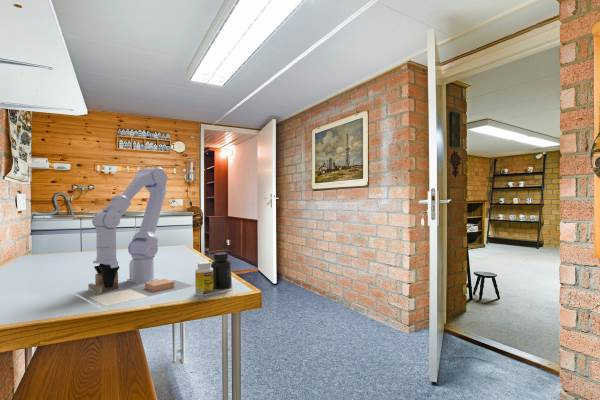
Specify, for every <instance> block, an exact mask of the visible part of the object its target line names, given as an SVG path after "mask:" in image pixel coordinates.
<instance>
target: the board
mask: <svg viewBox="0 0 600 400" xmlns="http://www.w3.org/2000/svg"><path fill="white" fill-rule="evenodd" d="M171 281H174V288H170V289H165V290H161V291H156V292H153V291H150V290H147V289H145V285H144V286H138V287H133V288H129V289H128V288H127V289H124V290H119V291H114V292H110V293H102V294H99V295H94V296H90V297H89V298H90V299H91V300H93V301H95V302H97V303H98V304H101V305H102V306H105V307H108V306H113V305H118V304H123V303H126V302H131V301H136V300H138V299H143V298H148V297H152V296H155V295H161V294H164V293H169V292H174V291H178V290H182V289H186V288H191V287H194V285H193V284H190V283H186V282H182V281H179V280H174V279H173V280H171Z"/></svg>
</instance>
